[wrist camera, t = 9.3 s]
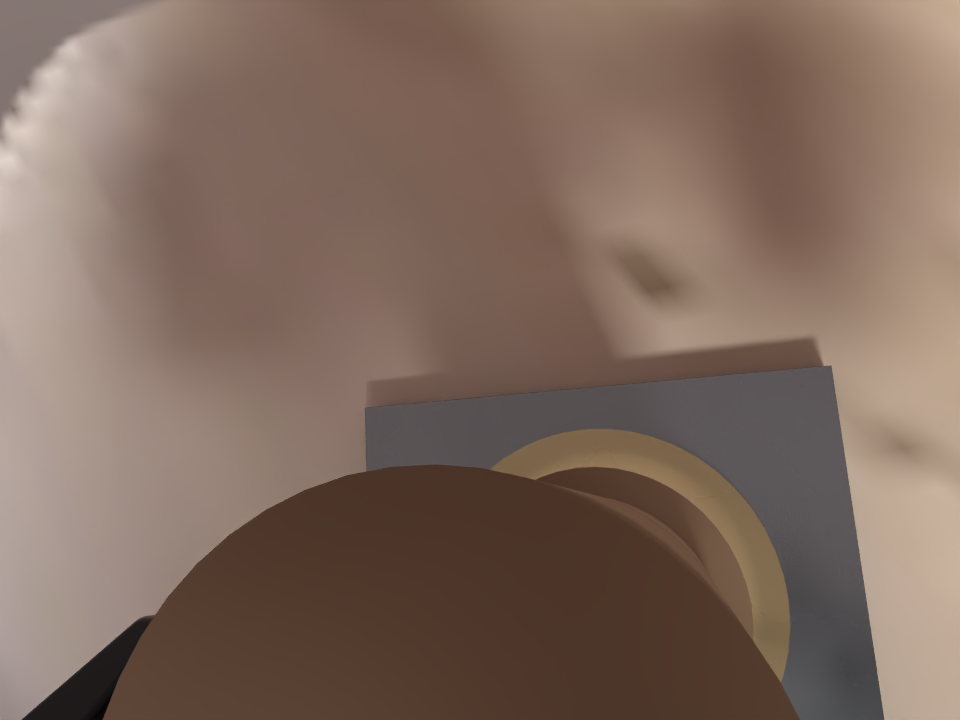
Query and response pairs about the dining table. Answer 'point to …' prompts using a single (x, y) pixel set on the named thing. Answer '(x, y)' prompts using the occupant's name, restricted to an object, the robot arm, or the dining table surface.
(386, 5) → the dining table surface
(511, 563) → the walnut post
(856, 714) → the gauge plate
